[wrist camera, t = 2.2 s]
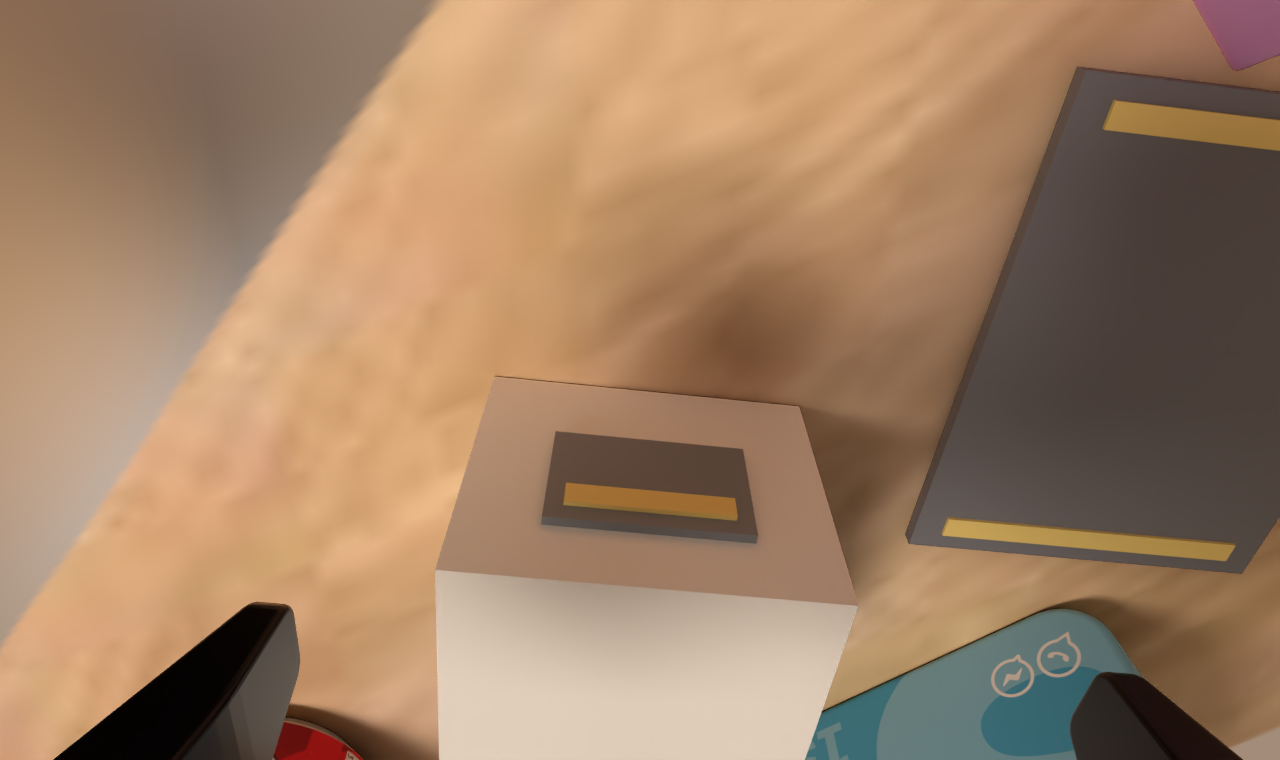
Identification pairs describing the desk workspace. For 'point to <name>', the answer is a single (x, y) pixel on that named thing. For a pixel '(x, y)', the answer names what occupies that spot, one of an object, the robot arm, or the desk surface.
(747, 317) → the desk surface
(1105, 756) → the robot arm
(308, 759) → the soda can
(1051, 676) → the data package
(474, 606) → the white box
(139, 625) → the desk surface
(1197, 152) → the mat
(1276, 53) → the toy chair
